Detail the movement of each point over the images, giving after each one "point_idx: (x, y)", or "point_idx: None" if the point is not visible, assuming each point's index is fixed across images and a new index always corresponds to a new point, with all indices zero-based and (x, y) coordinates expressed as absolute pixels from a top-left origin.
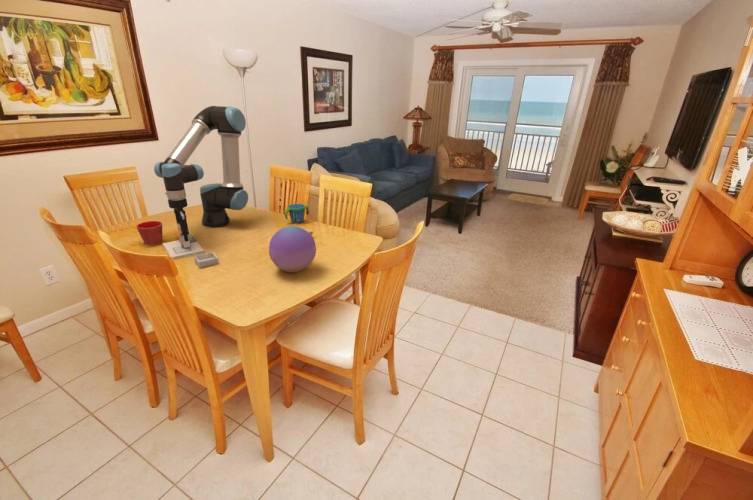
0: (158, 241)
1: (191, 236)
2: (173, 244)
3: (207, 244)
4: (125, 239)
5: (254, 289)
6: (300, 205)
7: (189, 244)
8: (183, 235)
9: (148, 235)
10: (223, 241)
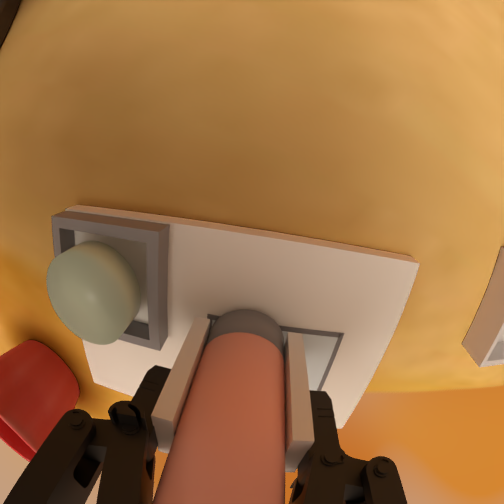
0: (66, 378)
1: (112, 267)
2: (135, 363)
3: (249, 147)
4: None
5: None
6: None
7: (301, 352)
8: (298, 460)
9: None
10: (275, 15)
